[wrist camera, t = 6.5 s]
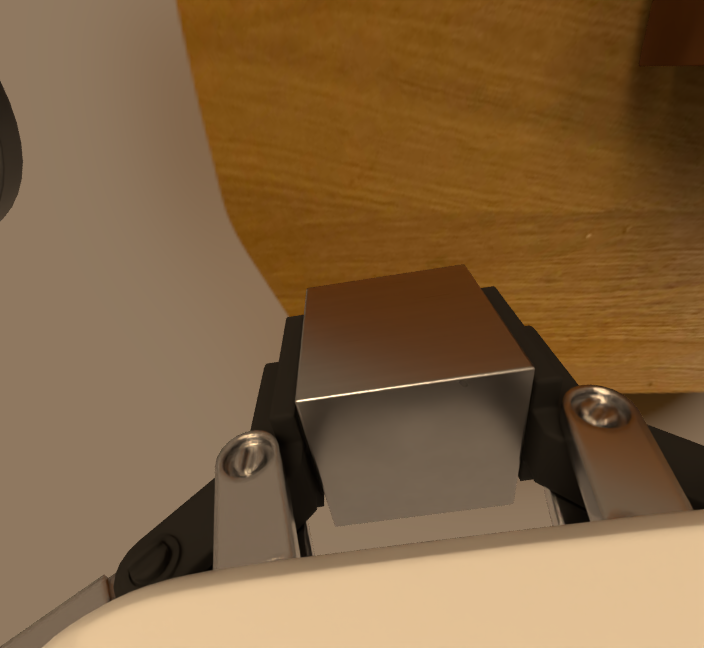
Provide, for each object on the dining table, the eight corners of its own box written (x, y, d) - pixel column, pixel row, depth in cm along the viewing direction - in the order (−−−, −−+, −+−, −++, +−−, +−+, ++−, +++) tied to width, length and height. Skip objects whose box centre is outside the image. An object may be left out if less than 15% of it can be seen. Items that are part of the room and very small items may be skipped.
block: (333, 399, 13) (334, 527, 9) (306, 287, 11) (294, 401, 7) (462, 381, 13) (514, 505, 9) (464, 262, 10) (536, 367, 7)
